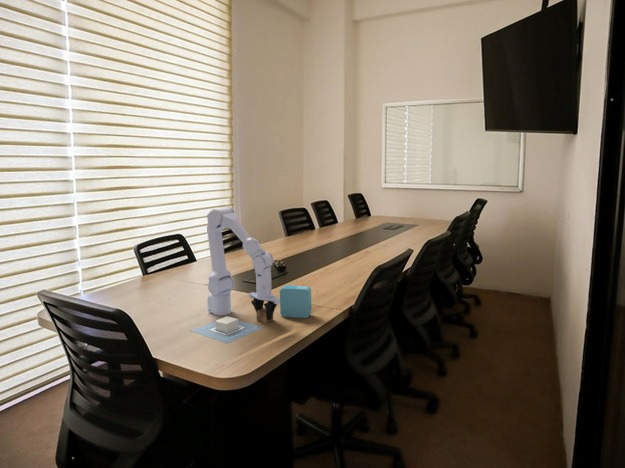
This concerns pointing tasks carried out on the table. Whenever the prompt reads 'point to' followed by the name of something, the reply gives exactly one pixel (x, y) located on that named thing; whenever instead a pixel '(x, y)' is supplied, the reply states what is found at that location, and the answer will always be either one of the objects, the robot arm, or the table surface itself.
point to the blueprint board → (227, 337)
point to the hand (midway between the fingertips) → (264, 318)
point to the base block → (227, 324)
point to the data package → (295, 301)
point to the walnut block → (262, 315)
